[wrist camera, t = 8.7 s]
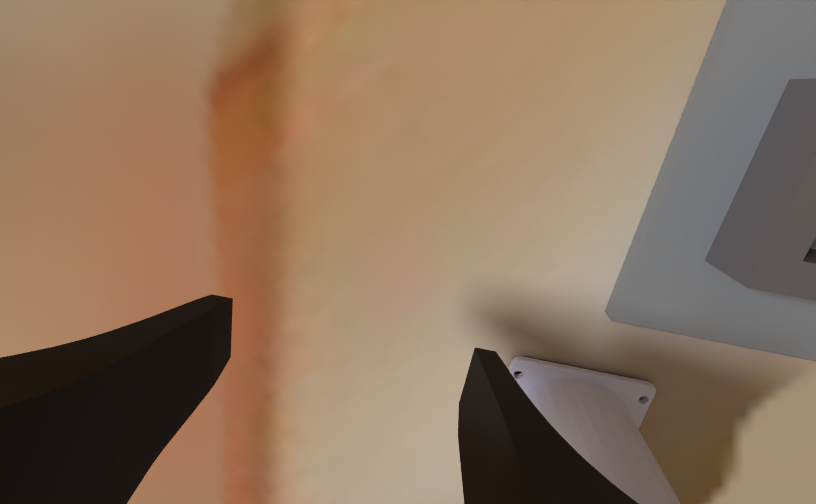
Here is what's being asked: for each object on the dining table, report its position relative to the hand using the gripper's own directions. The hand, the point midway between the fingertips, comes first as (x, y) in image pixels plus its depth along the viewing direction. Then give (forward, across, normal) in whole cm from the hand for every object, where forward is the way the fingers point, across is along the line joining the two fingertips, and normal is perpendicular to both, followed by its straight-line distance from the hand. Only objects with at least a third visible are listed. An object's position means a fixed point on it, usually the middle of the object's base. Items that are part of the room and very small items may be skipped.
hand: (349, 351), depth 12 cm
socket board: (+10, -19, -6) cm, 22 cm away
